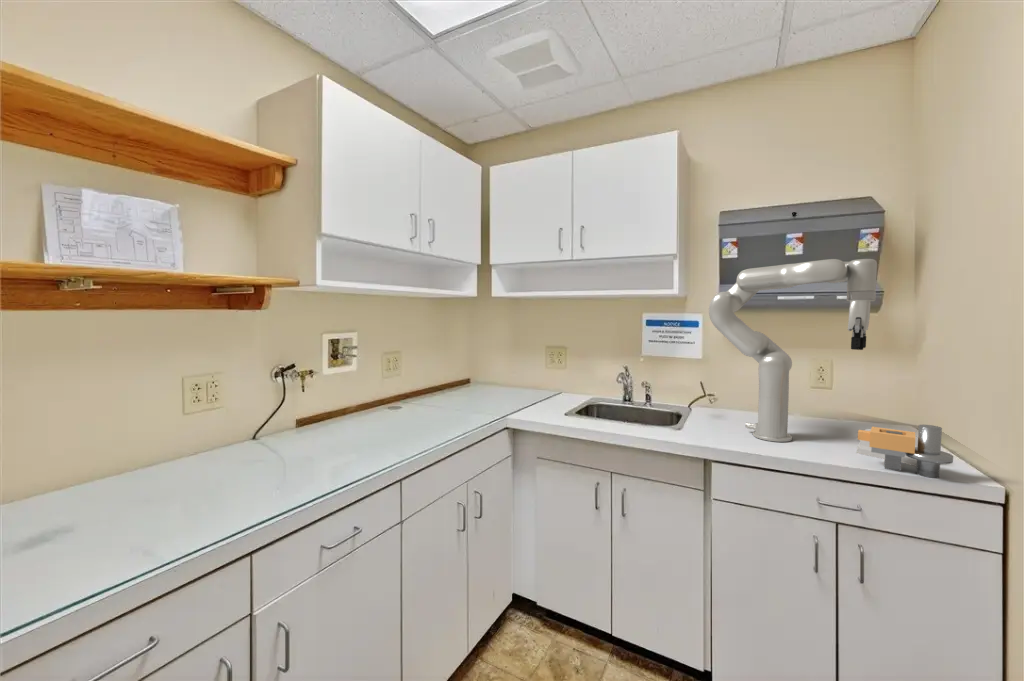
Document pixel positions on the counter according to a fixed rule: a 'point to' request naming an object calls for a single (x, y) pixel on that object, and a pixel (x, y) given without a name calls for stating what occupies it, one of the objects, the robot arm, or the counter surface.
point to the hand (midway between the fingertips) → (858, 348)
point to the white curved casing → (866, 450)
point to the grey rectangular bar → (893, 458)
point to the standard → (925, 452)
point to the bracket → (889, 439)
